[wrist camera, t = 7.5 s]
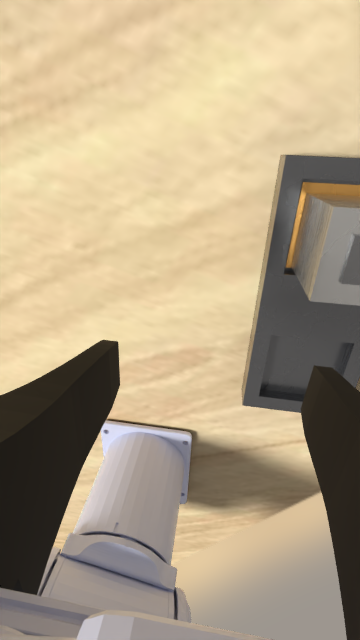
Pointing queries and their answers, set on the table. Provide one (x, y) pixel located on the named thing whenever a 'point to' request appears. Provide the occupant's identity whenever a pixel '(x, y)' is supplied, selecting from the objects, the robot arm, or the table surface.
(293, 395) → the dark gray slotted base
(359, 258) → the grey square block
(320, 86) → the table surface
